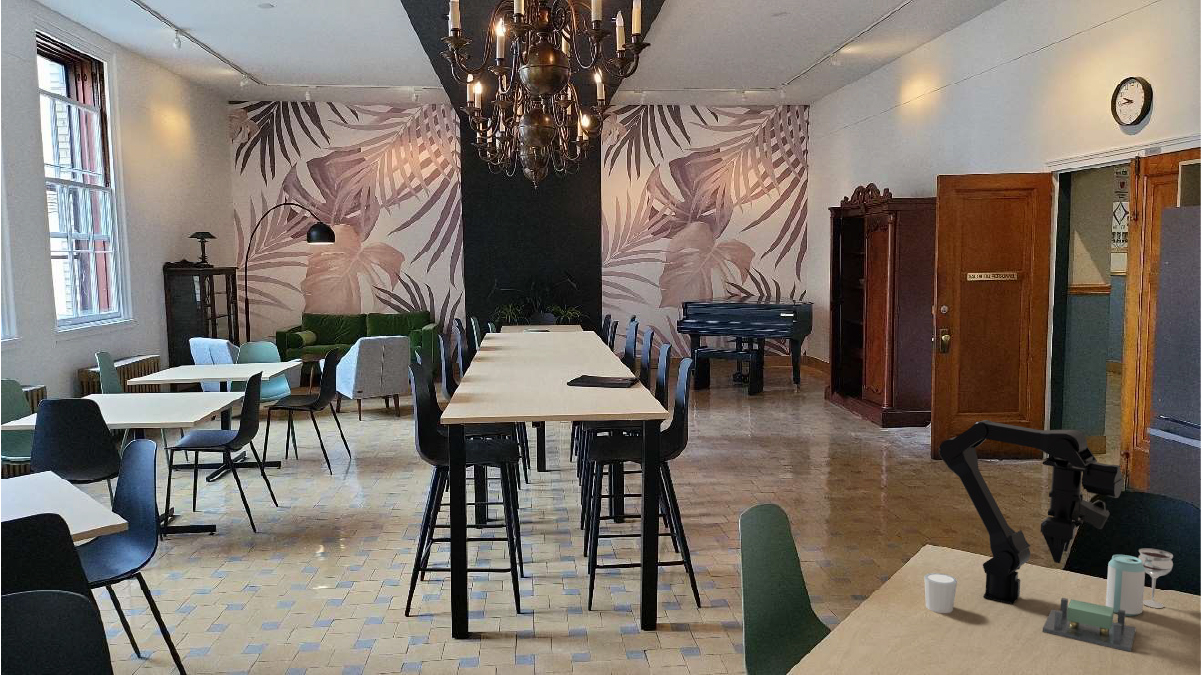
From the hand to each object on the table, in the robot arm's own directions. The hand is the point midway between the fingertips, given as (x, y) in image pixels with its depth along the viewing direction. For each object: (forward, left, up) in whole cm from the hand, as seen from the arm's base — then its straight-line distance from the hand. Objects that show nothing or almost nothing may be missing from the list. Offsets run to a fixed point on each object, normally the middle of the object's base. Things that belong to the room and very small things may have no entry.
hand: (1060, 556), depth 193 cm
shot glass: (-22, -13, -13) cm, 29 cm away
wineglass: (+17, +18, -13) cm, 28 cm away
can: (+12, +10, -13) cm, 21 cm away
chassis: (+7, -7, -13) cm, 16 cm away
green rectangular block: (+7, -7, -11) cm, 14 cm away
